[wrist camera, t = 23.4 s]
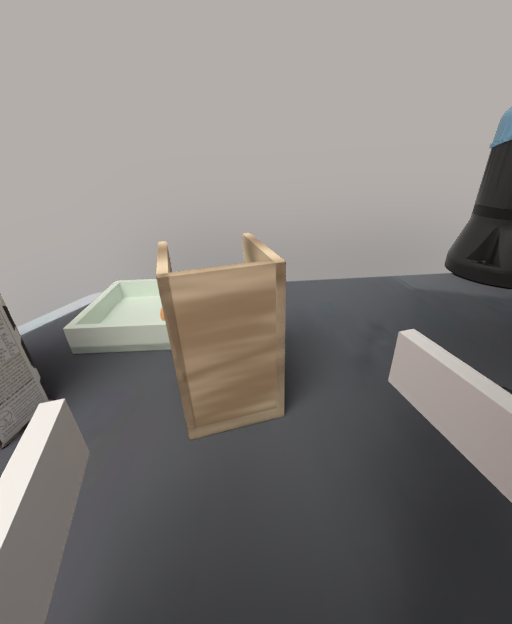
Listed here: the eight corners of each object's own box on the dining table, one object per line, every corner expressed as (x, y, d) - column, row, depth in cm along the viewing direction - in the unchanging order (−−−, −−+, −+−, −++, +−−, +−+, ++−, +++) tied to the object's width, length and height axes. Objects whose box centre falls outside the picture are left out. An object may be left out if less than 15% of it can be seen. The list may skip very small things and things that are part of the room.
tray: (260, 294, 42) (260, 274, 41) (265, 345, 30) (264, 320, 29) (121, 300, 42) (115, 280, 40) (72, 353, 30) (62, 329, 29)
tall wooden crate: (284, 416, 22) (285, 261, 16) (189, 440, 20) (156, 278, 15) (255, 355, 29) (249, 232, 23) (182, 370, 27) (158, 241, 22)
